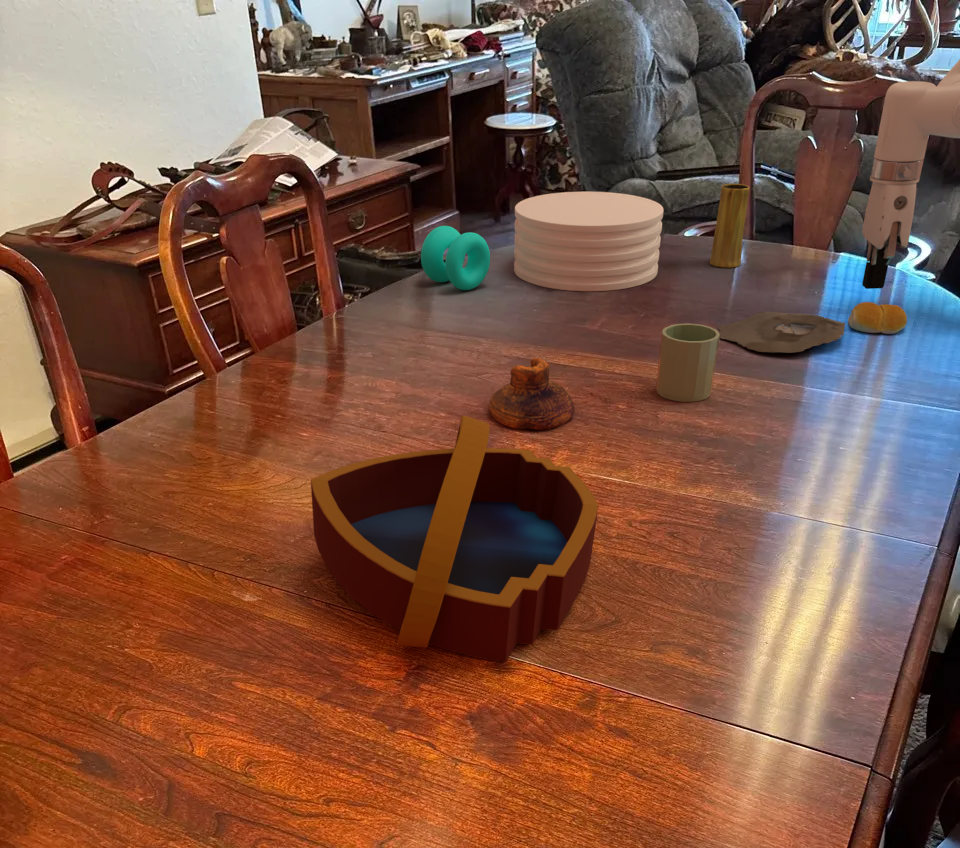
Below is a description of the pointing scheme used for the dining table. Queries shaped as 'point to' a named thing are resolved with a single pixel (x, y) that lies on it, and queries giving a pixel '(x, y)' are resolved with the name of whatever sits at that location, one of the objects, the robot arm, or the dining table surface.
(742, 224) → the vase
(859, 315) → the bread roll
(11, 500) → the dining table surface
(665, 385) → the teacup
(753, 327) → the fabric swatch
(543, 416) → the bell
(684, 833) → the dining table surface
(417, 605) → the decorative basket
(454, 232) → the donuts
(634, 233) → the plate stack
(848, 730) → the dining table surface
